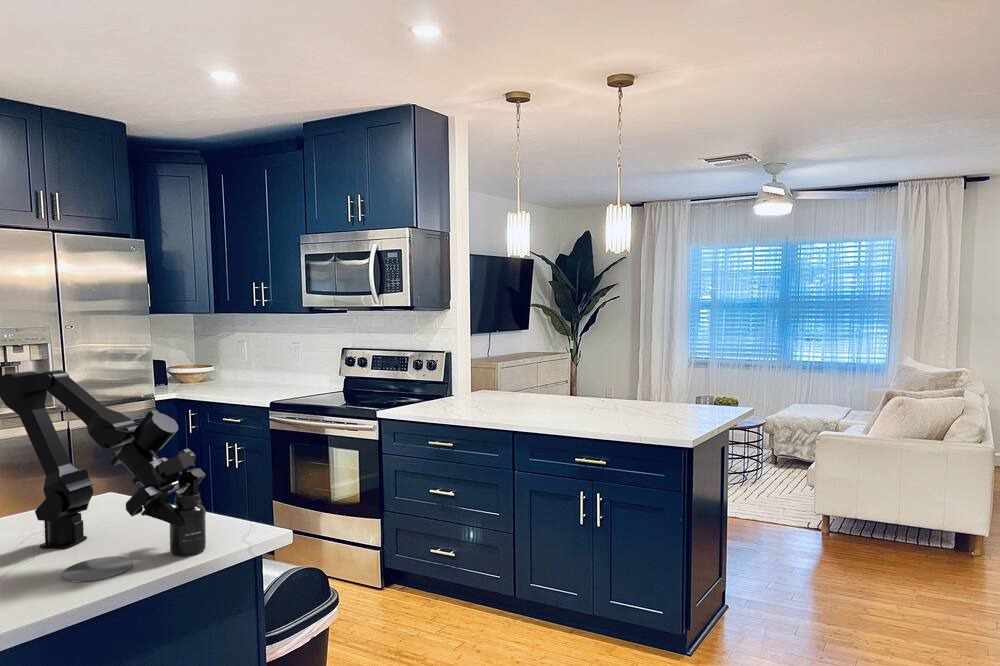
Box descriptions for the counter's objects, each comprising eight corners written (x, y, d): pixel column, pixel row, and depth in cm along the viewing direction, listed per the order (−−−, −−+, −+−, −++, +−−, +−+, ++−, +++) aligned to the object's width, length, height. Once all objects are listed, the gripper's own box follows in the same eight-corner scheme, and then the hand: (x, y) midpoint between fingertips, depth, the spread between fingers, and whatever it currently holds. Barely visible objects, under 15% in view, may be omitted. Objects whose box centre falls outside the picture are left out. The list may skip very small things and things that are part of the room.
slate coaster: (46, 581, 129) (46, 578, 129) (90, 558, 141) (90, 555, 141) (107, 582, 128) (107, 580, 128) (146, 559, 140) (146, 556, 140)
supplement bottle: (192, 558, 140) (190, 499, 140) (162, 556, 142) (161, 498, 141) (213, 546, 147) (211, 490, 147) (184, 544, 148) (183, 489, 148)
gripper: (136, 448, 135) (188, 506, 133) (196, 431, 153) (243, 482, 152) (102, 486, 137) (153, 545, 135) (166, 465, 155) (211, 516, 154)
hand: (193, 520), depth 144 cm, fingers closed on supplement bottle, 7 cm apart
